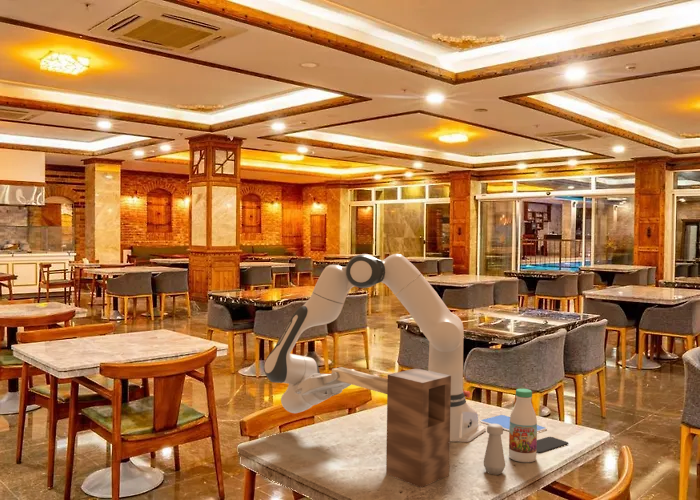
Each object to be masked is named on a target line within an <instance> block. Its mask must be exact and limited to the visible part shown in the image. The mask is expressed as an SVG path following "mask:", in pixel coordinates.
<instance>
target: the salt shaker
mask: <svg viewBox="0 0 700 500" xmlns="http://www.w3.org/2000/svg"><path fill="white" fill-rule="evenodd" d="M486 431H487V434H489V435H488V440H487V444H486V449H485V454H484V457H483V466H484V469H485V471H486V473H488V474H489V475H497V476H499V475H501V474H502V473H503V472H504V469H505V467H506V460H505V454H504V446H503V443H502V442H503V441H502V436H501V435H503V434H504V430H503V427H502V426H501V425H499V424H489V425H487V426H486Z"/></svg>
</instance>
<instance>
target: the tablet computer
mask: <svg viewBox="0 0 700 500" xmlns="http://www.w3.org/2000/svg"><path fill="white" fill-rule="evenodd" d="M480 422H481V424H483V425H487V426H488V425H489V424H499V425H501V426H502V427H503V429H504V430H503V431H506V430H507V431H506V432H509V427H510V416H507V415H505V414H500V415H495V416H492V417H487V418H483V419H480V420H479V423H480ZM544 430H546V431H547V430H548V428H547V427H546V426H542V425H538V424H537V432H540V431H543V432H545V431H544ZM540 433H541V432H540Z"/></svg>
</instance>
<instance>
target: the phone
mask: <svg viewBox="0 0 700 500" xmlns="http://www.w3.org/2000/svg"><path fill="white" fill-rule="evenodd" d="M567 444H568V445H569V442H568V441H566V440H564V439H563V440H562V439H559V438H556V437H553V436H546V437H544V438H543V437H542V438H539V439H537V452H536V454H543V453H546V452H549V450H550V451H552V449H553V450H556V449H559V448H558V447H560V448H562V447H561V446H563V447H565V446H564V445H566V446H568V445H567ZM555 448H556V449H555Z"/></svg>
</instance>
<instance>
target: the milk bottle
mask: <svg viewBox="0 0 700 500" xmlns="http://www.w3.org/2000/svg"><path fill="white" fill-rule="evenodd" d="M515 398H516V399H515V404H514V406H513V408H512V410H511V412H510V416H509V417H510V427H509V431H508V432H509V434H508V435H509V436H508V456H509V458H510V459H511V460H513V461H516V462H518V463H533V462H535V461H536V460H537V453H536V452H537V440H538V433H537V425H538V421H537V414H536V410H534V407H533V403H532V399H533V391H532V390H531V389H528V388H517V389H515Z"/></svg>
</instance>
